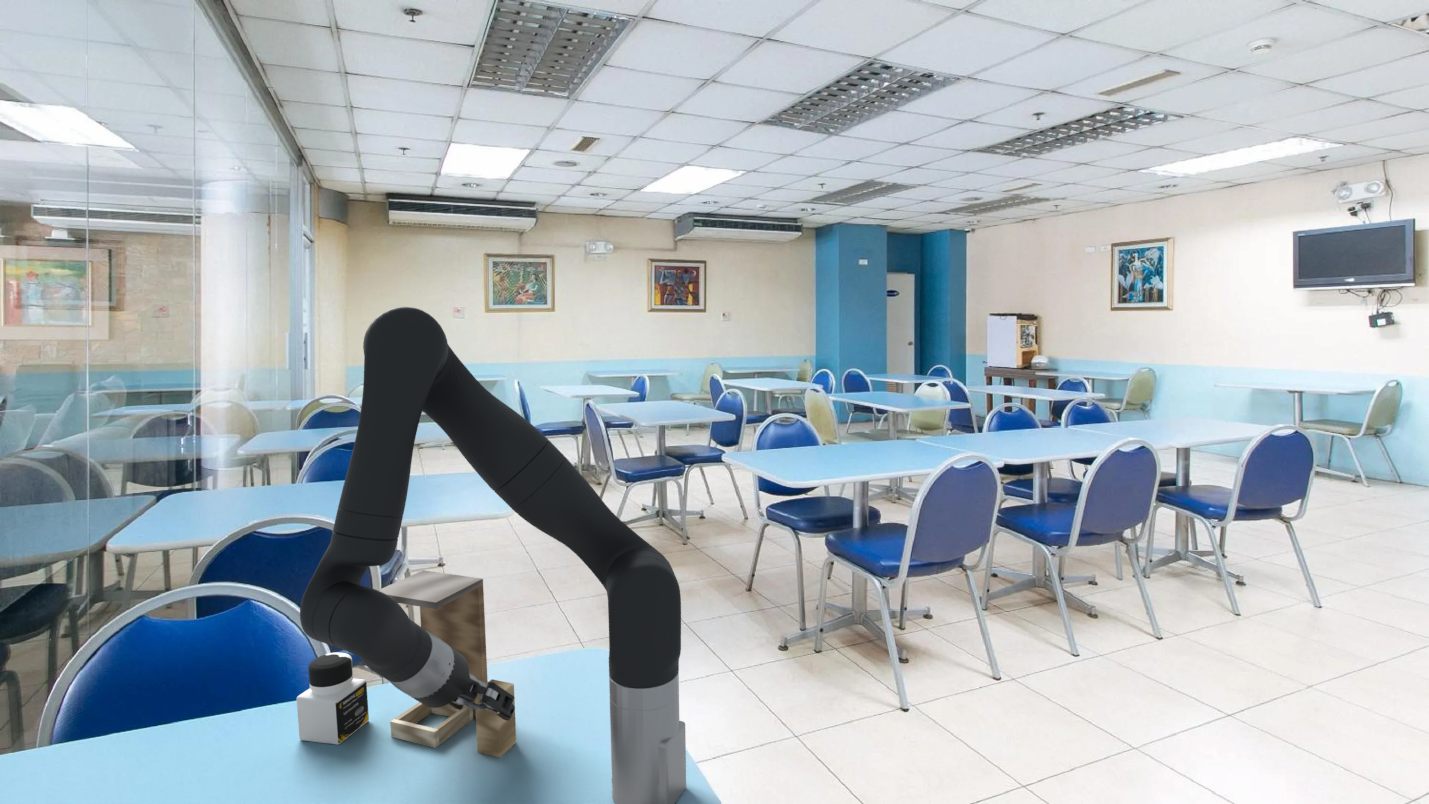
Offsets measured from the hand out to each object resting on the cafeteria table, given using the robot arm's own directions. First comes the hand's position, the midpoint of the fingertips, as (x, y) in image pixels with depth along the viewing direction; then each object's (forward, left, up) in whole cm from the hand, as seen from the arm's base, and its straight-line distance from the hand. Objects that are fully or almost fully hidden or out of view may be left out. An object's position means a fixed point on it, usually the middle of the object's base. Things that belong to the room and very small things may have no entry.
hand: (486, 707), depth 109 cm
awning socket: (+13, -3, -7) cm, 15 cm away
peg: (0, -2, -7) cm, 8 cm away
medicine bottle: (+27, +3, -8) cm, 28 cm away
